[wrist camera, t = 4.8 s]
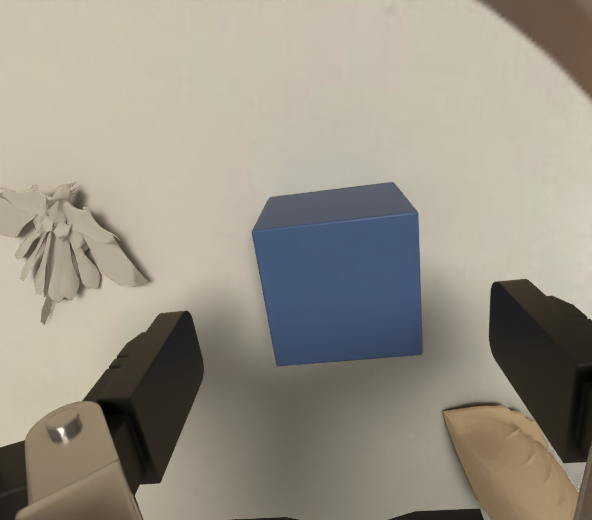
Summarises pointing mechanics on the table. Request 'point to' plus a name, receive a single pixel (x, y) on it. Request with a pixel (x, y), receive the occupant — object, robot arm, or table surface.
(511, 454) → the decorative ornament
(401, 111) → the table surface
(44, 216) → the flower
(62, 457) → the robot arm
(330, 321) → the cube
